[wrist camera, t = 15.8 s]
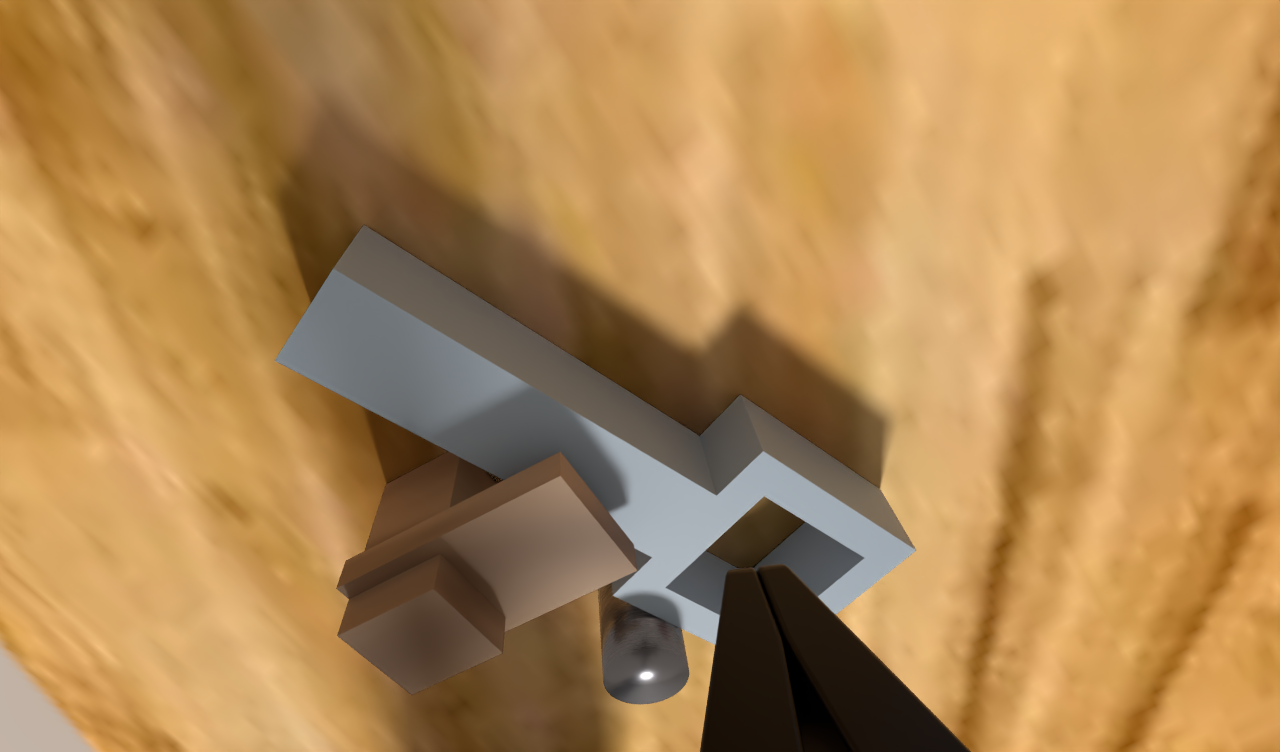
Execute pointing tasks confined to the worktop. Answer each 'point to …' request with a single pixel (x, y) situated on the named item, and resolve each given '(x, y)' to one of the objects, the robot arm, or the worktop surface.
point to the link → (589, 435)
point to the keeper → (473, 564)
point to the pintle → (639, 652)
